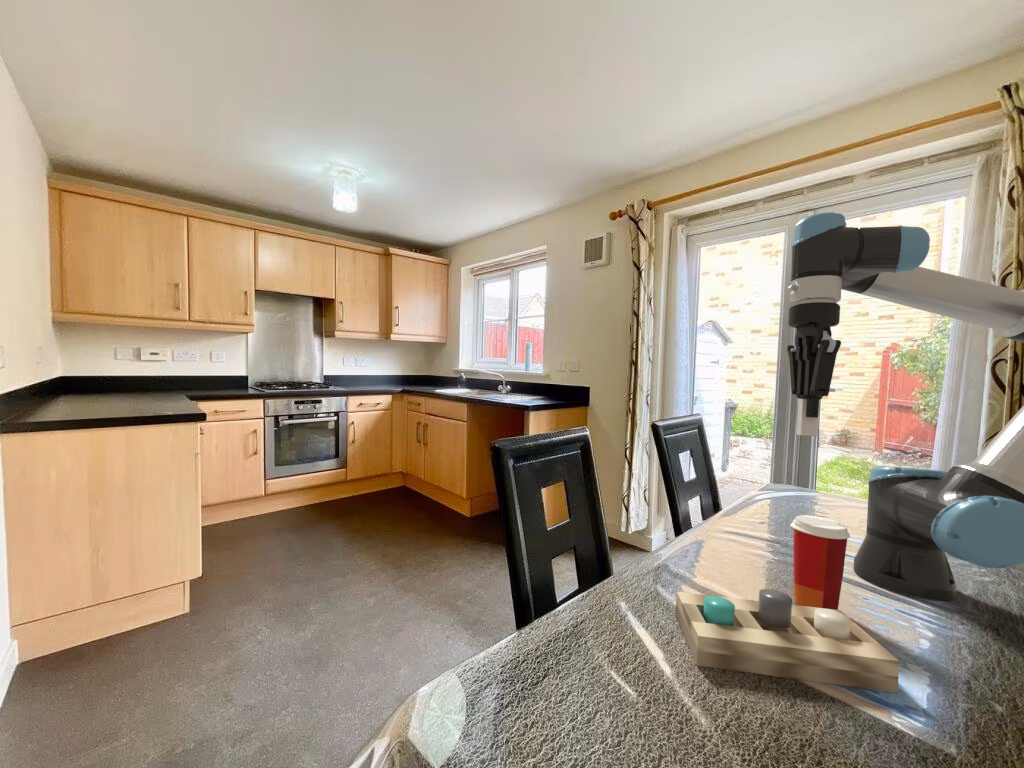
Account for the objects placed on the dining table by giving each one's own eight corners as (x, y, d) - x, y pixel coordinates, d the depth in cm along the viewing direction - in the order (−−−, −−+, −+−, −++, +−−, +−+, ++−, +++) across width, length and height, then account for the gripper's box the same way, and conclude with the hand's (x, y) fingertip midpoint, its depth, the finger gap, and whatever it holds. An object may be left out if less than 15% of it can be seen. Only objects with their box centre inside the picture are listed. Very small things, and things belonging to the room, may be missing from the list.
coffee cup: (834, 601, 76) (839, 518, 76) (854, 626, 68) (859, 533, 68) (780, 592, 79) (784, 511, 78) (793, 614, 71) (798, 525, 71)
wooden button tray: (838, 635, 65) (840, 610, 65) (897, 692, 53) (899, 661, 53) (675, 616, 69) (676, 591, 69) (696, 665, 57) (698, 635, 57)
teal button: (727, 620, 64) (729, 597, 64) (737, 636, 60) (739, 611, 60) (699, 617, 64) (700, 594, 64) (707, 632, 60) (709, 608, 60)
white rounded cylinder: (837, 633, 62) (838, 610, 62) (855, 651, 58) (857, 625, 58) (807, 630, 62) (808, 606, 62) (823, 647, 58) (824, 622, 58)
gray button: (782, 614, 63) (783, 590, 63) (796, 629, 59) (797, 604, 59) (753, 610, 63) (754, 587, 63) (765, 626, 59) (766, 601, 59)
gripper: (774, 309, 83) (768, 429, 84) (811, 296, 70) (803, 438, 71) (816, 310, 82) (809, 432, 83) (861, 297, 69) (853, 441, 70)
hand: (806, 435), depth 77 cm, fingers closed
